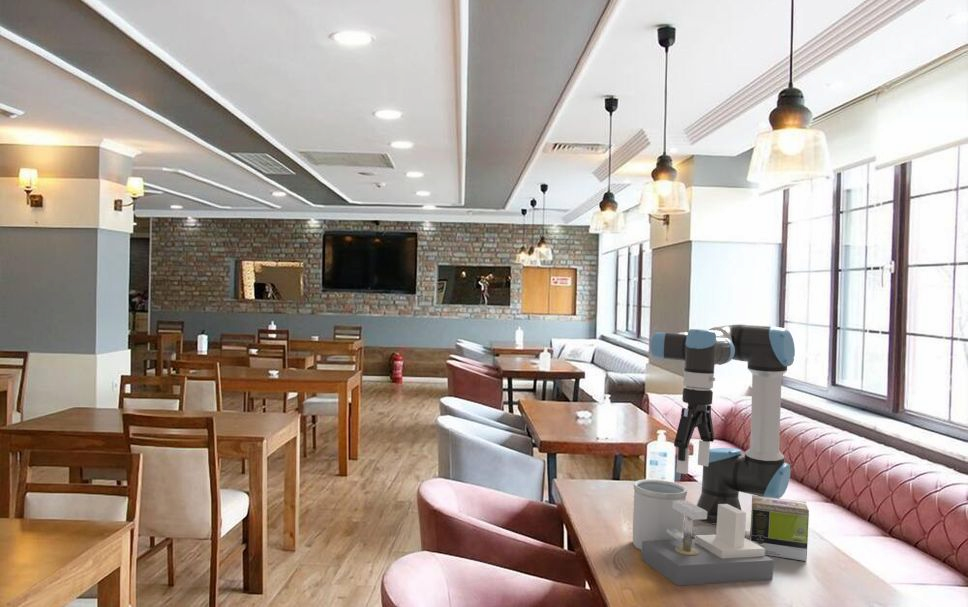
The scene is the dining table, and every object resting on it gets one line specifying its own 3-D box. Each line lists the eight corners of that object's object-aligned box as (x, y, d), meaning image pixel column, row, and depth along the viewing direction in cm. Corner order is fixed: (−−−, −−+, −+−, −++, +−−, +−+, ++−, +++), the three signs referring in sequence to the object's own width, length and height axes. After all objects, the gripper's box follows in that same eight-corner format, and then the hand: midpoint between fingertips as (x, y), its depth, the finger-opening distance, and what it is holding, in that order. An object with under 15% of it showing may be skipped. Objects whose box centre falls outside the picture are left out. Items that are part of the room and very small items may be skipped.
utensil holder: (674, 559, 200) (678, 495, 200) (622, 547, 208) (626, 485, 208) (689, 546, 213) (693, 485, 213) (640, 534, 221) (644, 476, 221)
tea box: (803, 551, 215) (807, 501, 214) (806, 562, 205) (810, 509, 205) (748, 542, 219) (752, 493, 219) (749, 553, 210) (752, 501, 210)
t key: (663, 538, 200) (666, 496, 200) (676, 538, 202) (679, 496, 201) (690, 556, 187) (693, 511, 187) (704, 556, 189) (707, 511, 189)
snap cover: (735, 540, 204) (738, 501, 204) (764, 556, 193) (767, 514, 193) (695, 542, 201) (697, 502, 200) (721, 558, 189) (724, 515, 189)
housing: (729, 554, 207) (730, 536, 207) (772, 579, 190) (773, 559, 190) (641, 559, 199) (642, 540, 199) (677, 585, 182) (679, 564, 182)
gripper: (692, 393, 180) (686, 479, 181) (729, 387, 200) (724, 465, 200) (663, 389, 185) (658, 473, 185) (702, 383, 205) (697, 459, 205)
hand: (692, 469), depth 193 cm, fingers open, 13 cm apart
